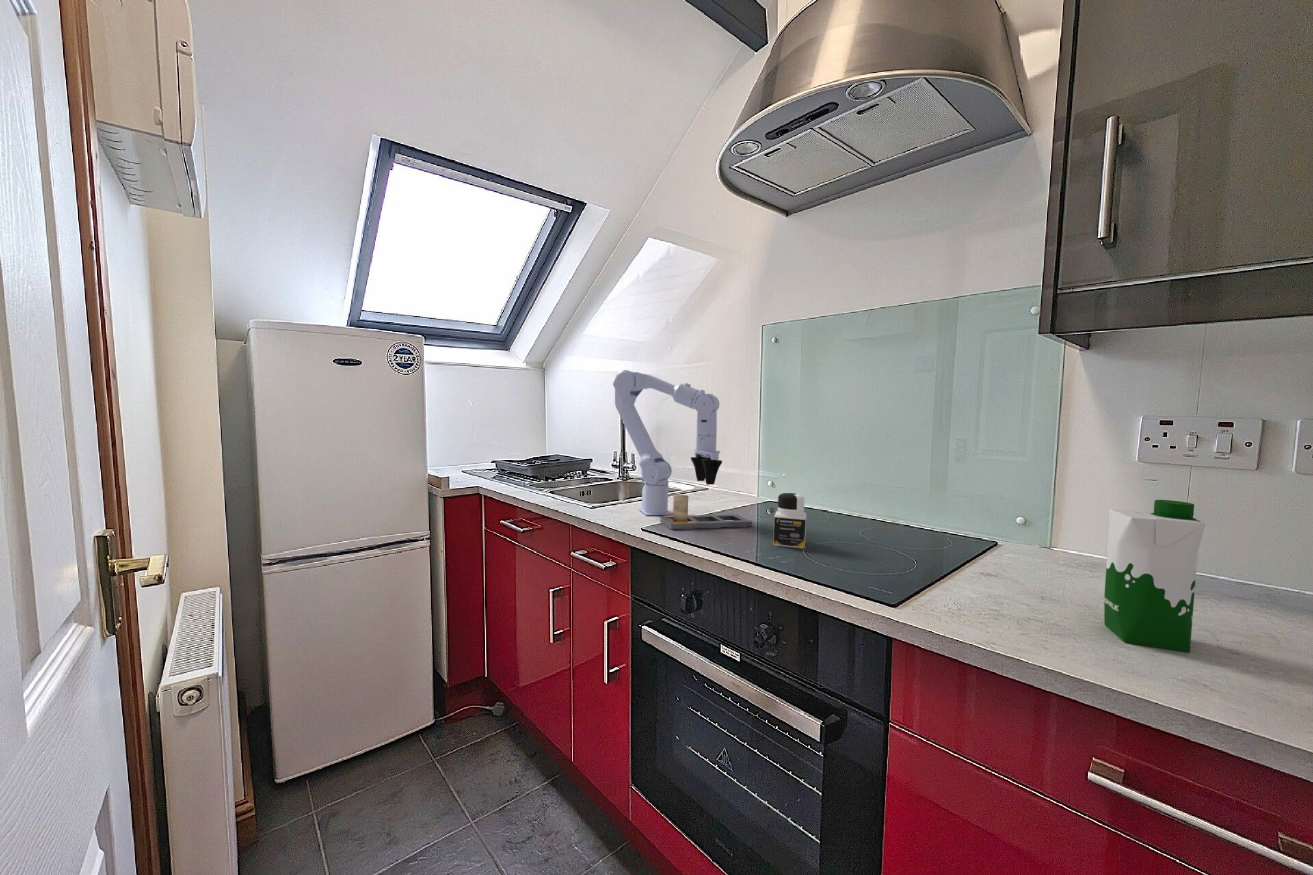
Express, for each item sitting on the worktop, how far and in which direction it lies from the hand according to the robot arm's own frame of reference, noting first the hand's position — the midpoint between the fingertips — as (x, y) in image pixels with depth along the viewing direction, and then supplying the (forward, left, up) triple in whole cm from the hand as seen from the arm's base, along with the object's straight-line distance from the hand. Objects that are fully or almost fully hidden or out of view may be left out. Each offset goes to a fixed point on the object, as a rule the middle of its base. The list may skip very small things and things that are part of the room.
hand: (705, 482), depth 151 cm
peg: (+8, -10, -10) cm, 16 cm away
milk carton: (+89, +34, -11) cm, 96 cm away
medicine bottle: (+31, +10, -11) cm, 34 cm away
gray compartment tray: (+8, -3, -10) cm, 13 cm away
